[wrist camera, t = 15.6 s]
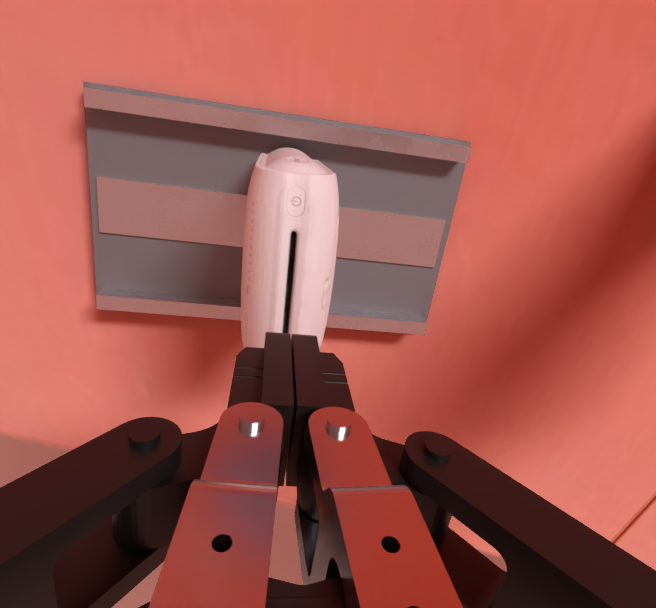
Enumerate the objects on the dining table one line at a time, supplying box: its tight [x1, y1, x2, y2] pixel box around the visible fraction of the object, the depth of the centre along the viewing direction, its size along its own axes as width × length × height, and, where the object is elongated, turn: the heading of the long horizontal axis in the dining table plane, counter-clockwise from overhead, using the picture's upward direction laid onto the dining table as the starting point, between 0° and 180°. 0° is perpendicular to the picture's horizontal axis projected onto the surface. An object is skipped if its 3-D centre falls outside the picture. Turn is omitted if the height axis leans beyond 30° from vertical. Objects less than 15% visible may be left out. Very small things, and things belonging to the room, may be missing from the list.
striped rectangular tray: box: [83, 87, 471, 335], centre depth 29 cm, size 23×13×1 cm, turn 82°
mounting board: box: [83, 82, 471, 321], centre depth 30 cm, size 24×14×1 cm, turn 82°
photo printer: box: [241, 147, 339, 349], centre depth 24 cm, size 10×4×12 cm, turn 173°
